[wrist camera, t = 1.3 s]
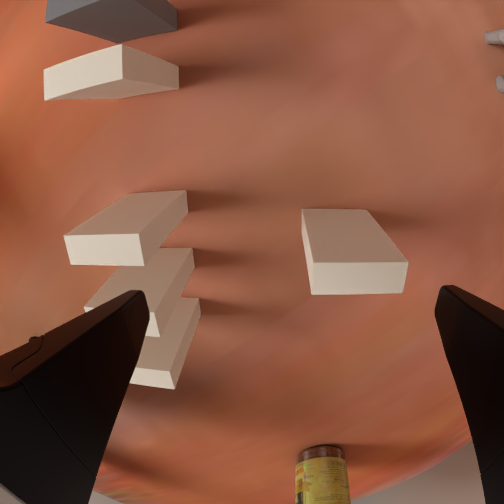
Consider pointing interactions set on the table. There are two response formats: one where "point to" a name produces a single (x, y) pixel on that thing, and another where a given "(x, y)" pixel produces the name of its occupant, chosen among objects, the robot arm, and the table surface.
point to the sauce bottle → (321, 477)
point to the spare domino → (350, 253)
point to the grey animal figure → (496, 38)
